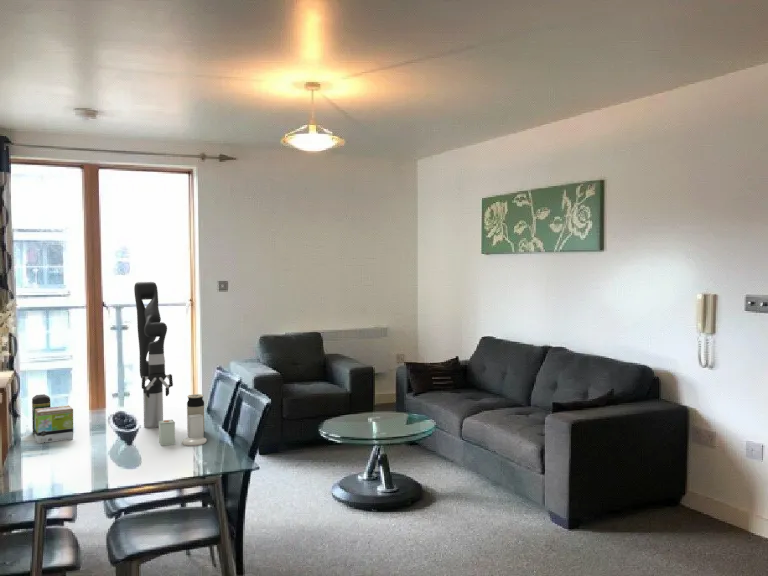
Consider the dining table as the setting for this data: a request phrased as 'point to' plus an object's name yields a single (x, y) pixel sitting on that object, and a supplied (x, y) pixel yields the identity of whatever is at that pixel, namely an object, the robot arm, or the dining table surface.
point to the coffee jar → (39, 405)
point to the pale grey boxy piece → (166, 432)
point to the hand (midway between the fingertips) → (157, 396)
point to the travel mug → (195, 406)
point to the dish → (193, 441)
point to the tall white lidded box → (195, 426)
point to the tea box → (53, 424)
